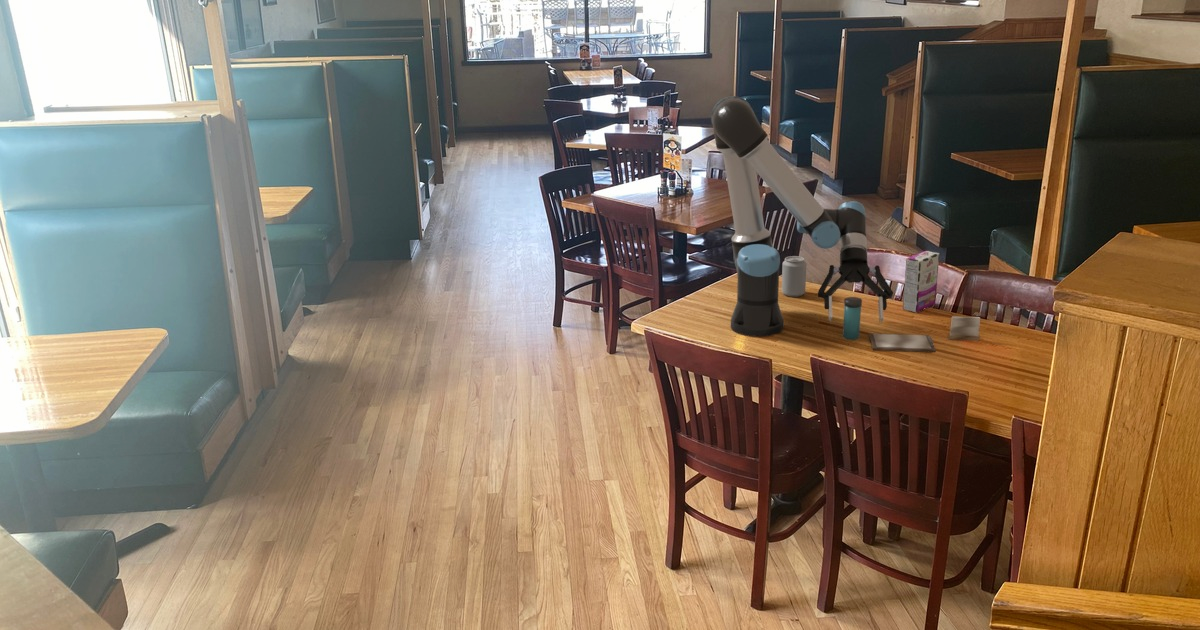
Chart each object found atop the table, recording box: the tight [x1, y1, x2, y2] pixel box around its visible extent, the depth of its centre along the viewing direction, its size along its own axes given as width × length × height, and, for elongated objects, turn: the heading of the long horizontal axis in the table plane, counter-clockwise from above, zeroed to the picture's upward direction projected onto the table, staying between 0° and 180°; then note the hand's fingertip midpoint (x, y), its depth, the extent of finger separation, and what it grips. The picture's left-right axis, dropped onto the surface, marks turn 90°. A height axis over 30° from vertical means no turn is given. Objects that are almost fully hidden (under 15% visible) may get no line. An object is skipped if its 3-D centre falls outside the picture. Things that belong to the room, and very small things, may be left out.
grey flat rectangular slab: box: [868, 333, 937, 353], centre depth 237 cm, size 16×11×2 cm
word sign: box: [947, 316, 981, 342], centre depth 238 cm, size 8×2×6 cm, turn 79°
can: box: [781, 255, 808, 298], centre depth 278 cm, size 8×8×12 cm
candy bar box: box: [902, 250, 940, 314], centre depth 262 cm, size 11×5×16 cm, turn 131°
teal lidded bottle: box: [842, 296, 863, 340], centre depth 242 cm, size 5×5×11 cm
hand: (855, 319), depth 241 cm, fingers open, 13 cm apart
